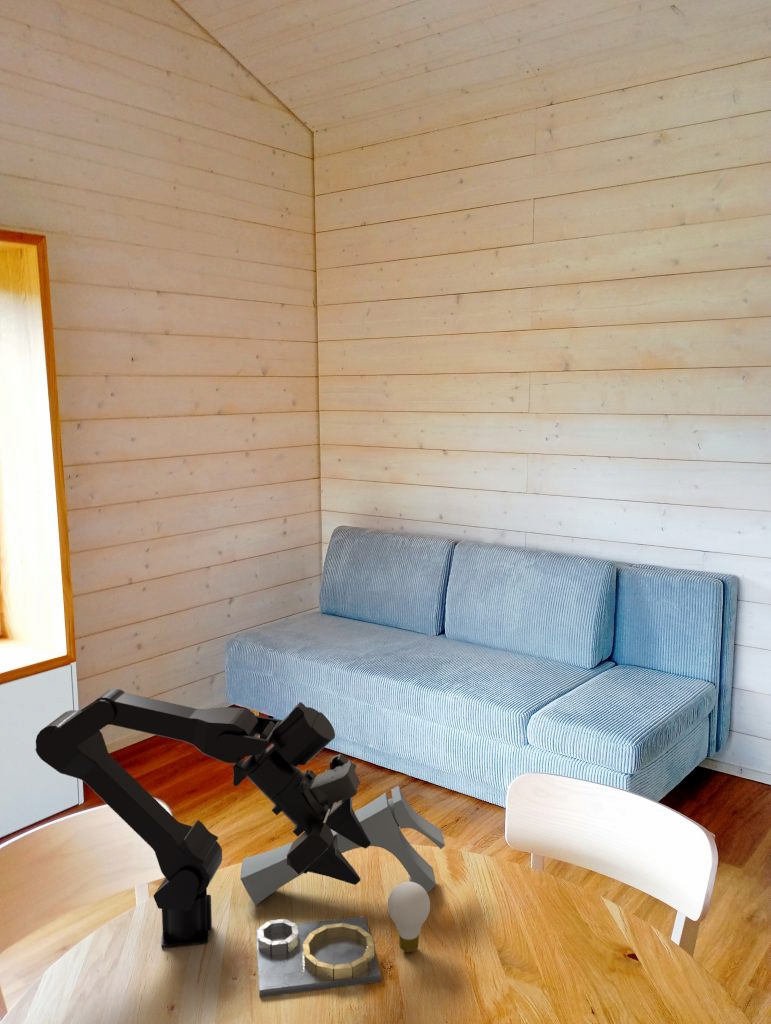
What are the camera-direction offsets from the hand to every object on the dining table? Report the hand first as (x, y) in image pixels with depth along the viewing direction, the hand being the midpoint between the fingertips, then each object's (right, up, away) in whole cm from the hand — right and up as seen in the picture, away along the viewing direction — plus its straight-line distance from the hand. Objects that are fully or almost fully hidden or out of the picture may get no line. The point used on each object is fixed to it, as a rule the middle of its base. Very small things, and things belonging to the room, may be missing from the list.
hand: (363, 863), depth 119 cm
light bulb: (+6, -13, +1) cm, 14 cm away
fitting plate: (-7, -13, 0) cm, 14 cm away
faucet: (-4, -11, +15) cm, 19 cm away
